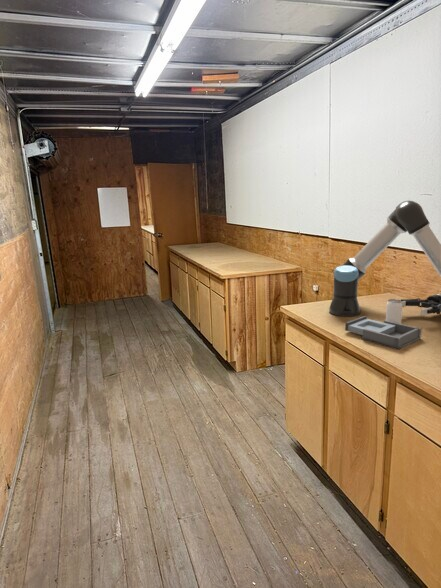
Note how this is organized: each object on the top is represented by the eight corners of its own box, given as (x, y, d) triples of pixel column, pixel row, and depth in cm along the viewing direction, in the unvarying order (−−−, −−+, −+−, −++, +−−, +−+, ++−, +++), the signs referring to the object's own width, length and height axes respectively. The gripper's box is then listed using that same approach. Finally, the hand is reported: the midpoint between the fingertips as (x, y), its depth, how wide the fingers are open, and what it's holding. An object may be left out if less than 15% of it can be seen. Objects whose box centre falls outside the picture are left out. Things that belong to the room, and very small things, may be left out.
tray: (345, 330, 172) (345, 322, 171) (364, 323, 180) (364, 315, 179) (377, 339, 160) (377, 330, 159) (395, 331, 169) (396, 323, 168)
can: (383, 324, 182) (384, 299, 179) (397, 323, 182) (399, 298, 179) (388, 328, 176) (390, 302, 173) (403, 328, 175) (405, 302, 173)
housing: (361, 339, 164) (362, 329, 163) (384, 329, 174) (385, 320, 173) (398, 349, 152) (399, 338, 151) (420, 338, 162) (421, 328, 161)
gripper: (462, 315, 181) (432, 323, 171) (413, 303, 202) (385, 310, 193) (463, 300, 179) (434, 307, 170) (415, 289, 201) (386, 295, 191)
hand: (408, 309), depth 181 cm, fingers open, 13 cm apart
